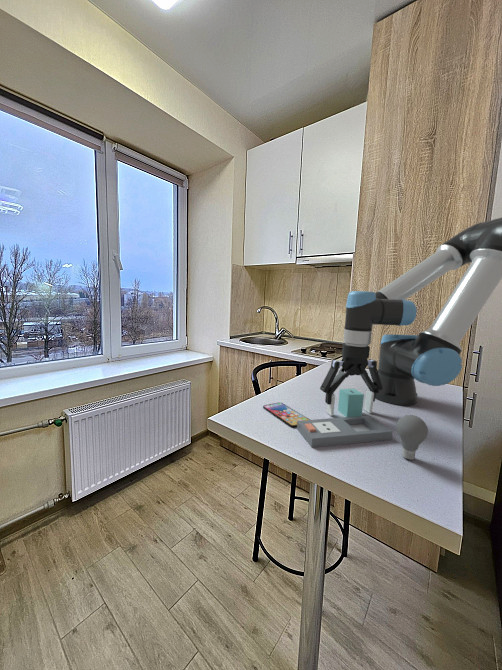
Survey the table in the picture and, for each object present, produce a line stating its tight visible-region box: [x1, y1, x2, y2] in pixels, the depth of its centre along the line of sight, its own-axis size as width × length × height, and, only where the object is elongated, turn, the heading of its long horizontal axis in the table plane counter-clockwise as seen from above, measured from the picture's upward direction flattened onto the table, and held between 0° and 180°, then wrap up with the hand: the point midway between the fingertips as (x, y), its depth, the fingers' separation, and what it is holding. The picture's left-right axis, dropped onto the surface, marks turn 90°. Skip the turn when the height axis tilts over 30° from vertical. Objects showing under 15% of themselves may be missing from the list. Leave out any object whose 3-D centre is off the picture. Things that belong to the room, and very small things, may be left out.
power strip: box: [296, 415, 393, 448], centre depth 70 cm, size 22×9×3 cm, turn 103°
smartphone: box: [262, 402, 311, 429], centre depth 81 cm, size 7×1×15 cm
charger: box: [337, 388, 365, 417], centre depth 83 cm, size 5×5×7 cm
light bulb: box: [396, 414, 429, 460], centre depth 60 cm, size 6×6×10 cm
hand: (349, 412), depth 83 cm, fingers open, 12 cm apart
